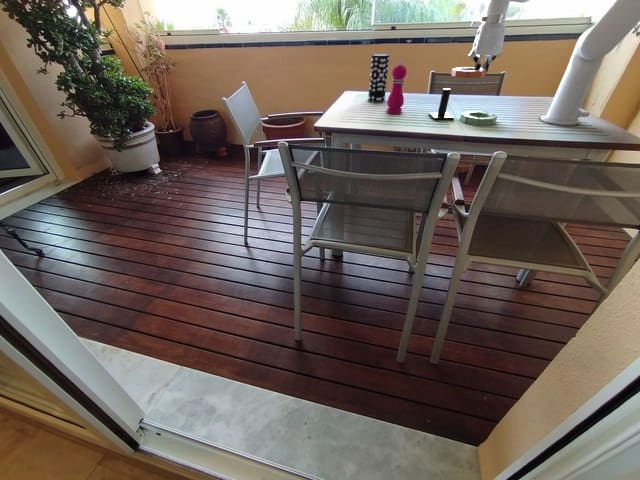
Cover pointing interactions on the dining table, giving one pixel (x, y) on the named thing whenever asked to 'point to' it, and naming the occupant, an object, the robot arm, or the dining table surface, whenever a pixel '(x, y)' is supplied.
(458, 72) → the ring terracotta
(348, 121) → the dining table surface
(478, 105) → the dining table surface
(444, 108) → the peg stand
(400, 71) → the pepper mill
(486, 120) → the ring green
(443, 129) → the dining table surface
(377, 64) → the white-spotted black cylinder
